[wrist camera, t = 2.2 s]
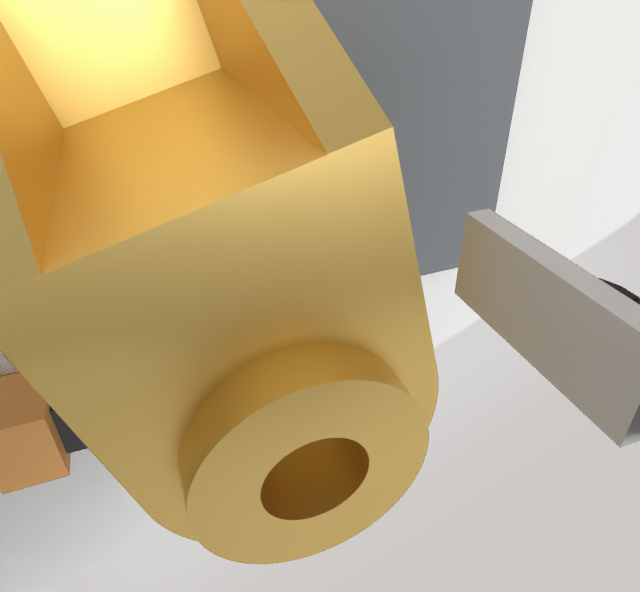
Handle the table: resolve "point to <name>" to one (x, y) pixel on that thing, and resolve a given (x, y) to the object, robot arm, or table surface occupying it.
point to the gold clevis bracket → (213, 265)
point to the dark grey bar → (31, 437)
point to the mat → (440, 101)
